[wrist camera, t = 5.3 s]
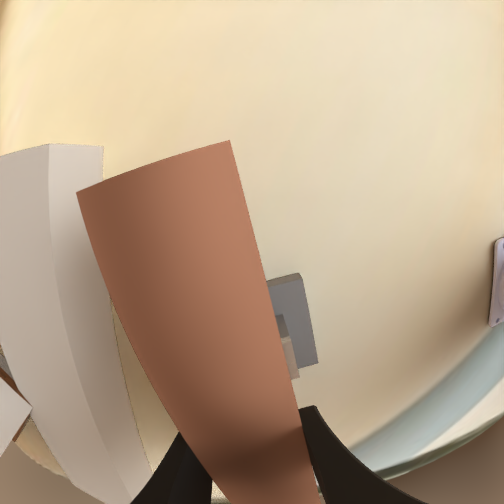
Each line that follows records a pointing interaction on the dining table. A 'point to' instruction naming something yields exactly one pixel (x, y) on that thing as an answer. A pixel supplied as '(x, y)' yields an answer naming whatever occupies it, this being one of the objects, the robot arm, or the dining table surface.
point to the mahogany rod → (203, 318)
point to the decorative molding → (65, 322)
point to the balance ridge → (293, 322)
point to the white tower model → (11, 407)
